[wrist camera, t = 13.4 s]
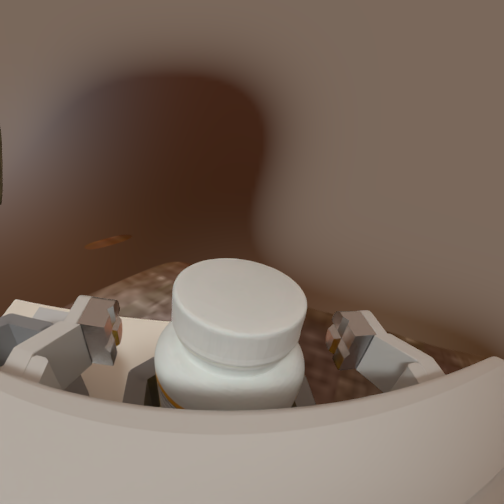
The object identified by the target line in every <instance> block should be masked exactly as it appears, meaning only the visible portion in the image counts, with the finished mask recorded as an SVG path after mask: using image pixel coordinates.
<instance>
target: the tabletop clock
mask: <svg viewBox="0 0 504 504" xmlns="http://www.w3.org/2000/svg"><path fill="white" fill-rule="evenodd" d="M2 186H3V183H2V141H1V129H0V205H1V202H2Z"/></svg>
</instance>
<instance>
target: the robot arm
mask: <svg viewBox="0 0 504 504" xmlns="http://www.w3.org/2000/svg"><path fill="white" fill-rule="evenodd" d="M119 311H120V307H119V302H118V301H117V300H113V299H106V298H99V297H92V296H85V295H80V296H79V297H78V298H77V300H76V301H75V303H74V305H73V306H72V308H71V310H70V311H69V313H68V315H67V317H66V318H65V320H64V321H59V322H57V323H56V324H54V325H52V326H50V327H49V328H47V329H45V330H43V331H41V332H40V333H38V334H36V335H34V336H33V337H31V338H29V339H27V340H26V341H24V342H22V343H20V344H19V345H17V346H15V347H14V348H13V350H12V351H11V353H10V355H9V357H8V358H7V360H6V362H5V364H4V366H3V367H2V369H1V370H0V504H504V360H502V359H500V358H498V357H490V358H487V359H485V360H483V361H481V362H478V363H476V364H473V365H471V366H469V367H466V368H463V369H461V370H458V371H455V372H453V373H450V374H447V375H445V374H444V372H443V371H442V370H441V368H440V367H439V366H438V364H437V363H436V362H435V360H434V359H433V358H432V357H430V356H429V355H427V354H425V353H423V352H422V351H420V350H418V349H416V348H415V347H413V346H411V345H409V344H407V343H406V342H404V341H402V340H400V339H399V338H397V337H395V336H393V335H392V334H387V333H386V331H385V330H384V329H383V327H382V326H381V325H380V323H379V322H378V320H377V319H376V318H375V316H374V315H373V314H372V313H371V311H369V310H361V311H340V312H339V311H338V312H336V313H335V314H334V315H333V318H332V322H333V325H332V326H330V327H329V328H328V331H327V333H326V345H327V348H328V350H329V351H330V352H331V353H333V354H334V356H333V361H334V363H335V365H336V367H337V369H338V370H348V369H356V370H357V371H358V372H360V373H361V374H362V375H363V376H364V377H366V378H367V379H368V380H369V381H370V382H372V383H373V384H374V385H375V386H376V387H377V388H379V389H380V390H381V391H382V392H383V393H381V394H377V395H372V396H367V397H362V398H357V399H352V400H346V401H340V402H334V403H327V404H320V405H312V406H303V407H293V408H282V409H267V410H239V411H216V410H188V409H174V408H162V407H152V406H144V405H136V404H129V403H122V402H116V401H111V400H105V399H100V398H95V397H90V396H85V395H81V394H77V393H72V392H68V391H65V389H66V388H67V387H68V386H69V385H70V384H71V383H72V382H73V381H74V380H75V379H76V378H78V377H79V376H80V375H81V374H82V373H83V372H84V371H85V370H86V369H87V368H88V367H90V366H91V365H92V363H96V364H103V365H110V366H114V362H115V359H116V356H117V349H116V346H118V345H119V344H120V342H121V339H122V320H121V318H120V317H119V316H118V314H119Z"/></svg>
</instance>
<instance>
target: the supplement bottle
mask: <svg viewBox="0 0 504 504" xmlns="http://www.w3.org/2000/svg"><path fill="white" fill-rule="evenodd" d="M306 311H307V300H306V297H305V295H304V292H303V291H302V289H301V288H300V286H299V285H298V284H297V283H296V282H295V281H293V280H292V279H291V278H290V277H288V276H287V275H285V274H284V273H282V272H280V271H278V270H276V269H274V268H272V267H269V266H266V265H264V264H260V263H257V262H253V261H248V260H242V259H234V258H220V259H211V260H205V261H201V262H198V263H196V264H193V265H191V266H189V267H187V268H186V269H184V270H183V271H182V272H181V273H180V274H179V275H178V277H177V278H176V280H175V282H174V285H173V293H172V321H171V322H170V323H169V324H168V325H167V326H166V327H165V329H164V330H163V331H162V333H161V335H160V336H159V339H158V341H157V345H156V348H155V356H154V363H155V373H156V380H157V387H158V393H159V400H160V406H161V407H162V408H174V409H188V410H216V411H239V410H267V409H282V408H291V407H292V405H293V403H294V401H295V399H296V397H297V395H298V392H299V390H300V387H301V385H302V382H303V378H304V370H305V364H304V357H303V353H302V350H301V347H300V345H299V343H298V341H299V338H300V334H301V329H302V326H303V322H304V319H305V316H306Z"/></svg>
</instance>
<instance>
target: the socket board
mask: <svg viewBox="0 0 504 504" xmlns="http://www.w3.org/2000/svg"><path fill="white" fill-rule="evenodd" d="M69 311H70V309H64V308H58V307H51V306H47V305H41V304H36V303H31V302H26V301H22V300H17V299H15V300H14V302H13V303H12V304H11V306H10V307H9V308H8V309H7V311H6V312H5V314H4V315H3V316H2V317H0V370H1V369H2V367H3V366H4V364H5V362H6V360H7V358H8V357H9V355H10V353H11V351H12V350H13V348H14V347H15V346H17V345H19V344H20V343H22V342H24V341H26V340H27V339H29V338H31V337H33V336H34V335H36V334H38V333H40V332H41V331H43V330H45V329H47V328H49V327H50V326H52V325H54V324H56V323H57V322H59V321H64V320H65V318H66V317H67V315H68V313H69ZM120 318H121V320H122V339H121V342H120V344H119V345H118V346H116V349H117V356H116V359H115V362H114V366H110V365H103V364H96V363H92V365H91V366H90V367H88V368H87V369H86V370H85V371H84V372H83V373H82V374H81V375H80V376H79V377H78V378H76V379H75V380H74V381H73V382H72V383H71V384H70V385H69V386H68V387H67V388H66V389H65V391H68V392H72V393H77V394H81V395H85V396H90V397H95V398H100V399H105V400H111V401H116V402H122V403H129V404H136V405H144V406H152V407H161V406H160V400H159V393H158V387H157V380H156V373H155V363H154V356H155V348H156V345H157V341H158V339H159V336H160V335H161V333H162V331H163V330H164V329H165V327H166V326H167V325H168V324H169V323H170V322H168V321H157V320H146V319H136V318H127V317H120ZM312 405H316V403H315V400H314V398H313V395H312V392H311V389H310V386H309V384H308V381H307V378H306V376H304V378H303V382H302V385H301V387H300V390H299V392H298V395H297V397H296V399H295V401H294V403H293V405H292V407H291V408H293V407H303V406H312Z"/></svg>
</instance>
